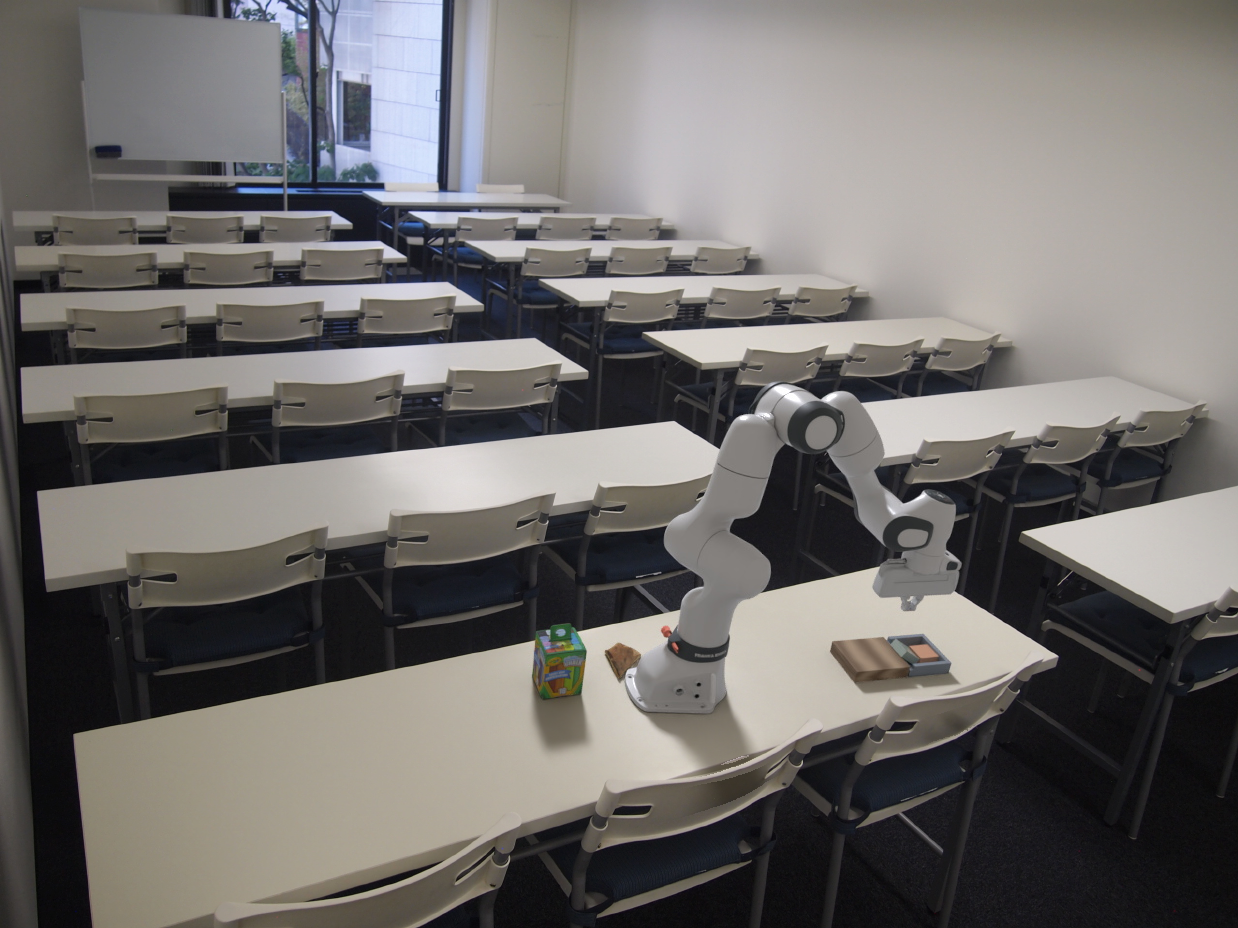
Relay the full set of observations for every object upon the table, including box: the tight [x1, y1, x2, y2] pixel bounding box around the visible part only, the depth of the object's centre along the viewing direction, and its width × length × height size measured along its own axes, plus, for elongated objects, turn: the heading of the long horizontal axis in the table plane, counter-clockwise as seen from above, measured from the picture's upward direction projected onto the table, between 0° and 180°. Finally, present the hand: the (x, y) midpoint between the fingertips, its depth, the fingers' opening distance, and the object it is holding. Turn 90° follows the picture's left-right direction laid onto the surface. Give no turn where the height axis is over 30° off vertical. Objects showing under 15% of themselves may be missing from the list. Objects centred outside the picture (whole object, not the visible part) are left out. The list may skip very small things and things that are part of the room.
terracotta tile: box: [909, 644, 939, 663], centre depth 221 cm, size 5×5×2 cm
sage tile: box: [890, 639, 919, 664], centre depth 219 cm, size 5×5×2 cm
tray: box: [886, 633, 952, 678], centre depth 221 cm, size 11×12×3 cm
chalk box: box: [531, 622, 588, 700], centre depth 196 cm, size 9×9×15 cm
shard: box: [604, 642, 642, 680], centre depth 208 cm, size 11×8×2 cm
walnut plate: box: [829, 636, 910, 683], centre depth 217 cm, size 14×12×3 cm
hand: (907, 609), depth 213 cm, fingers closed
